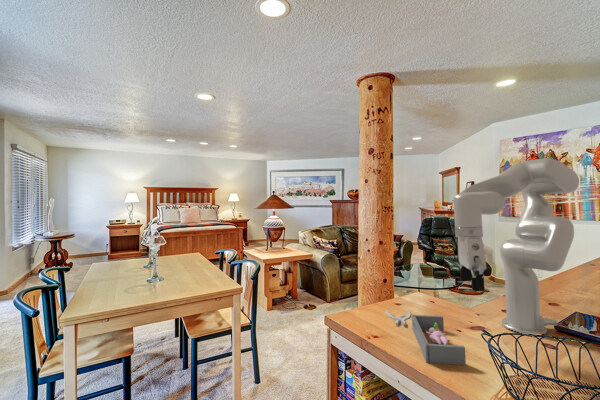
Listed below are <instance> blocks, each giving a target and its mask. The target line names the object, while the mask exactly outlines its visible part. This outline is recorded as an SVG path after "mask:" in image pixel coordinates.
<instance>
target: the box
mask: <svg viewBox="0 0 600 400" xmlns="http://www.w3.org/2000/svg"><path fill="white" fill-rule="evenodd" d="M435 323H437V324H438V327H439V328H438V329H439V330H440V332H444V331H445V326H444V316H442V315H428V314H427V315H422V314H411V326H412V327H411V329H412V332H413V334H414V336H415V338H416V341H417V343H418V345H419V348H420V350H421V353H422V356H423V358H424V360H425V363H428V364H429V363H430V364H441V365H442V364H444V365H455V366H456V365H458V366H466V365H467V364H466V362H467V361H466V360H467V359H466V347H465V346H464V345H458V344H457V345H455V344H454V345H453V344H447V345H444V344H441V345H440V344H438V343H436V344H435V343H429V342H428V340H427V338H426V336H425V334H424V332H423V331H428V330H429V327H430V328H434V325H435Z"/></svg>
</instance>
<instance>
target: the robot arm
mask: <svg viewBox="0 0 600 400" xmlns="http://www.w3.org/2000/svg"><path fill="white" fill-rule="evenodd" d="M579 185H580V177H579V175H578V174H577V172H576V171H575V170H574V169H573V168H571V167H569V166H567V165H566V164H564V163H563V162H561V161H560V160H557V159H555V158H551V157H550V158H549V157H545V158H537V159H530V160H523V161H518V162H516V163H514V164H512V165H511V166H510V167H508V168H506V169H505V170H504V171H503V172H500V174H498V175H496V176H493V177H490V178H488V179H485V180H482V181H480V182H477V183H474V184H472V185H470V186H468V187H466V188H465V189H463V190H462V191H461V192H460V193H457V194H455V195H453V200H452V201H453V203H452V204H453V214H454V233H455V237H456V238H457V256H458V262H459V275H460V281H462V282H471V289H472V291H474V292H483V291H485V270H486V269H487V261H486V252H485V247H484V241H483V237H484V232H483V218H482V217H483V215H489V216H490V215H491V216H492V215H496V214H498V213H500V212H502V211H503V210H504V208H505V205H506V201H505V199H507V198H512V197H513V196H517V194H519V193H521V194H522V197H523V198H522V199H523V200H524V208H523V210H522V213H521V214H520V217H519V218H518V221H517V224H516V226H515V229H514V230H515V235H516V237H518V238H513V239H512V238H511V239H507V240H505V241H504V242H503V243H502V244H501V245H500V249H499V250H500V257H501V260H502V264H503V270H504V286H505V287H504V288H505V305H506V306H505V308H506V309H505V310H506V311H505V312H506V313H505V314H506V317H504V318H503V319H502V320H501V325H502V326H503V327H504V328H505V329H507V330H509V329H510V330H509V331H511V330H513V331H512V332H514V331H516V332H515V333H517V332H519V333H518V334H521V333H522V335H525V334H534V335H535V334H544V335H546V334H547V333H548V330H547V326H558V321H557V319H548V317H546V316H545V317H544V316H541V303H540V302H541V301H540V282H539V278H538V276H537V274H536V273H535V271H534V270H538V271H546V272H558V271H560V270H561V269H562V268H563V266H564V265H565V261H566V260H567V257H568V254H569V251H570V248H571V246H572V243H573V241H574V236H575V228H574V224H573V222H572V221H571V220H570V219H568V218H566V217H565V216H558V215H557V216H555V215H554V216H553V214H554V212H555V211H554V210H555V209H554V207H553V205H552V203H551V202H550V201H549V200H547V198H545V196H544V195H557V194H559V195H561V194H571V193H574V192H575V191H576V190H577V189H578V188H579Z"/></svg>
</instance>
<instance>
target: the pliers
mask: <svg viewBox="0 0 600 400" xmlns="http://www.w3.org/2000/svg"><path fill="white" fill-rule="evenodd" d="M385 315H386V316H387V317H388V318H390V319H392V320H394V321H395V327H398V326H399V324H401V325H402V326H403V328H405V327H406V320H408V319H409V318H411V317H412V313H411V312H410V310H407V314H406V315H405V314H403V315H400V316H398V315H395V314H391V313H390V312H389V311H388V309H385Z"/></svg>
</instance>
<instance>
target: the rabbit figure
mask: <svg viewBox="0 0 600 400" xmlns="http://www.w3.org/2000/svg"><path fill="white" fill-rule="evenodd" d="M438 328H439V327H438V324H437V323H435V325H434V328H430V327H429V330H427V331H426V332H425V333H426V334H428V335H429V339H430V340H431V341H433V342H434V343H436V344H440V345H442V344H443V345H448V343H449V339H448V338H447V336H446V335H447V333H445V332H444V333H443V331H440V330H439V329H438Z"/></svg>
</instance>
